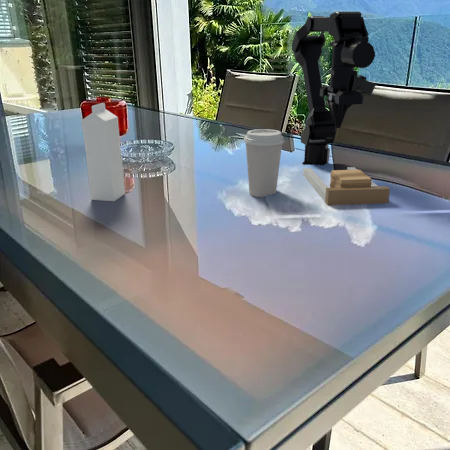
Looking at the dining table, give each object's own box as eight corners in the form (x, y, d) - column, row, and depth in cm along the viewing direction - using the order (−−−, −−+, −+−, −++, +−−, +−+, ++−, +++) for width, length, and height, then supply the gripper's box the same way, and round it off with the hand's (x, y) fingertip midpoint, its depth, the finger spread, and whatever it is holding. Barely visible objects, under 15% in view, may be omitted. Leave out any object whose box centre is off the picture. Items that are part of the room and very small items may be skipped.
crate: (329, 190, 113) (331, 170, 111) (357, 189, 113) (359, 169, 111) (339, 200, 105) (341, 180, 104) (369, 199, 106) (371, 179, 104)
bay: (303, 177, 125) (303, 163, 124) (353, 175, 126) (354, 161, 125) (327, 207, 103) (328, 190, 102) (387, 205, 104) (390, 188, 103)
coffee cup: (285, 189, 116) (288, 129, 110) (277, 201, 107) (279, 137, 102) (249, 186, 119) (250, 127, 113) (238, 197, 110) (238, 134, 105)
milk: (91, 200, 110) (78, 105, 101) (103, 192, 115) (92, 102, 107) (114, 201, 108) (103, 106, 100) (125, 193, 114) (116, 102, 105)
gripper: (388, 67, 108) (380, 134, 114) (361, 63, 125) (355, 121, 131) (342, 68, 107) (336, 135, 113) (321, 64, 125) (317, 122, 131)
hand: (337, 127), depth 122 cm, fingers closed
